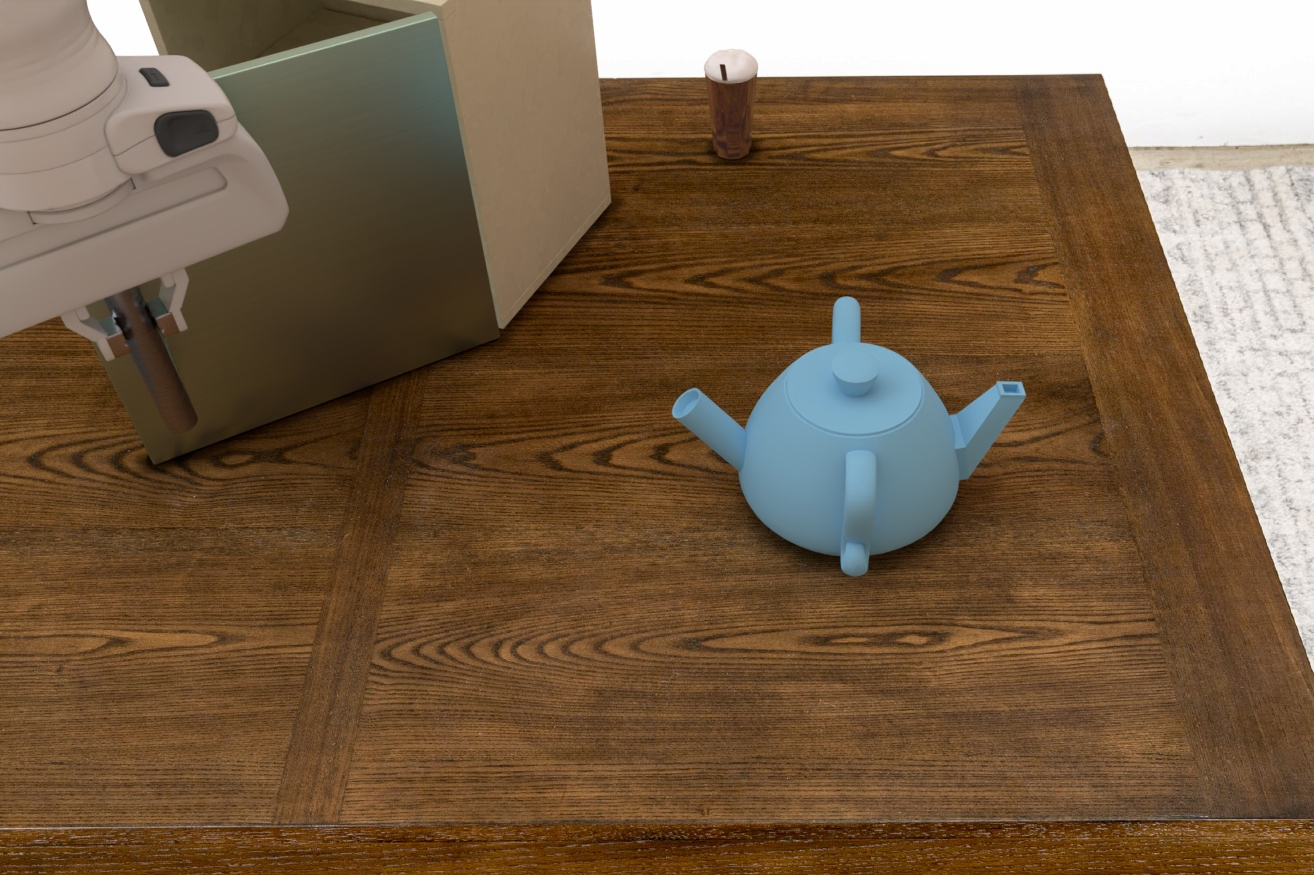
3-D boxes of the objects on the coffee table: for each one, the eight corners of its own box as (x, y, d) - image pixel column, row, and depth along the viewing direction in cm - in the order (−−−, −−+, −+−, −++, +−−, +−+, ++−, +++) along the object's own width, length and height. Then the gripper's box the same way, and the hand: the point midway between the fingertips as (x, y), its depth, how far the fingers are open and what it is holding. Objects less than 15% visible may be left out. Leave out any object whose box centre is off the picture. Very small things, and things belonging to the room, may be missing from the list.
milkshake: (699, 166, 111) (695, 61, 104) (713, 133, 115) (710, 29, 108) (749, 172, 111) (749, 66, 103) (762, 139, 114) (763, 35, 107)
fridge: (503, 329, 97) (441, 5, 78) (232, 250, 105) (114, -62, 86) (611, 202, 108) (580, -109, 89) (359, 139, 116) (280, -159, 97)
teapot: (810, 370, 93) (815, 246, 85) (1013, 480, 85) (1040, 355, 77) (669, 490, 85) (659, 366, 77) (878, 624, 77) (892, 501, 69)
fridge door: (533, 383, 93) (475, 58, 74) (174, 521, 84) (6, 195, 65) (495, 330, 97) (431, 10, 78) (150, 456, 88) (-14, 132, 70)
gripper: (-160, 239, 59) (-25, 446, 69) (261, 96, 66) (326, 301, 77) (-185, 176, 62) (-53, 382, 72) (217, 48, 70) (285, 250, 80)
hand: (145, 340), depth 75 cm, fingers closed on fridge door, 2 cm apart
